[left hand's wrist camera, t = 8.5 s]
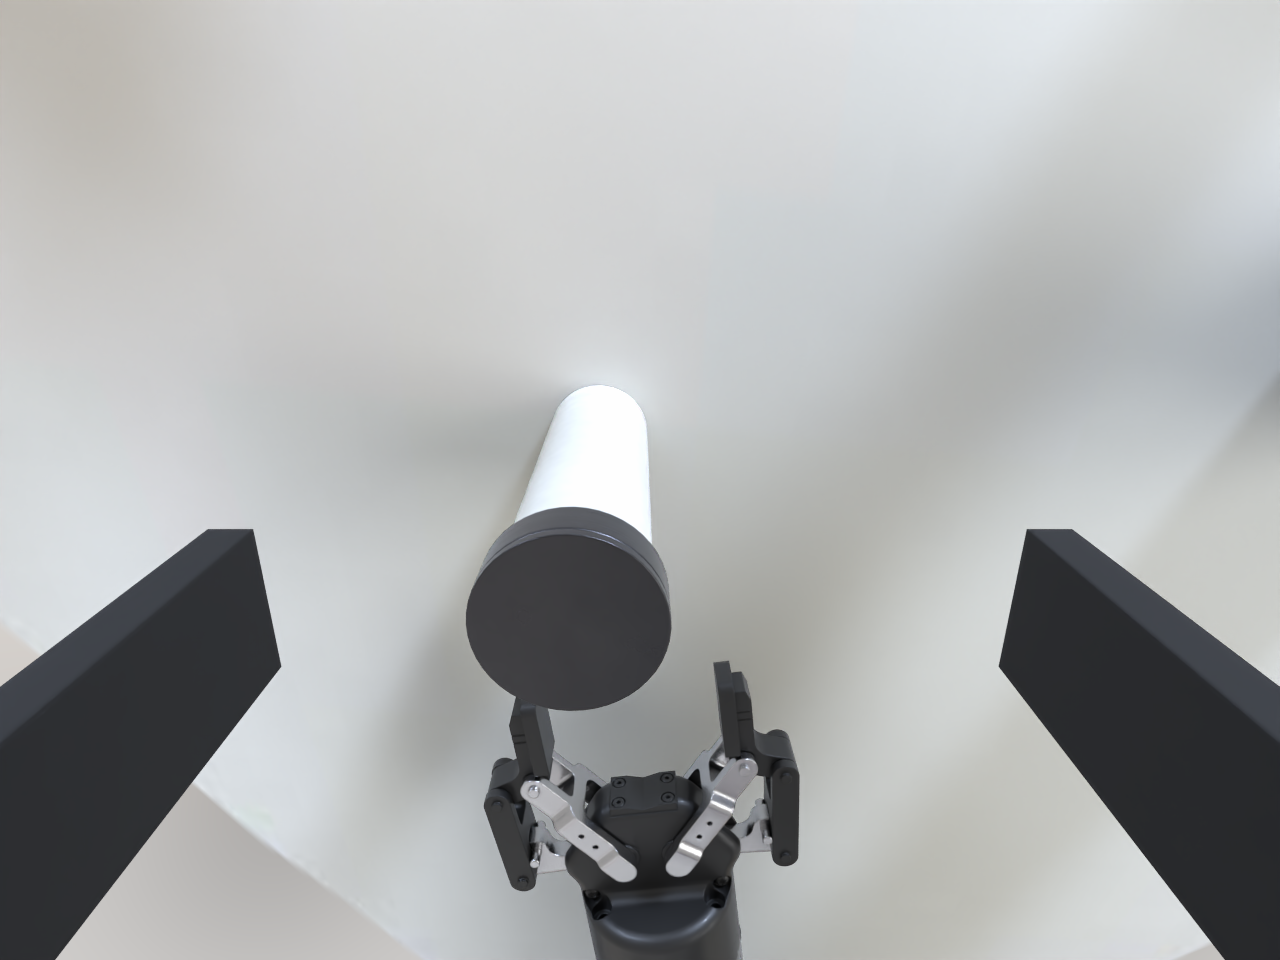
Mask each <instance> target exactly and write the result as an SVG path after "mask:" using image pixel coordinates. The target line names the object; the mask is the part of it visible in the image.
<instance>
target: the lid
mask: <svg viewBox="0 0 1280 960" xmlns="http://www.w3.org/2000/svg"><path fill="white" fill-rule="evenodd" d="M466 628H467V635H468V639H469V642H470V645H471V648H472V650H473V652H474V655H475V657H476V659H477V660H478V662H479V663H480V665H481V666H482V668H483V669H484V670H485V672H486V673H487V674H488V675H489V676H490V678H492V679H493V680H494V681H495V682H496V683H497V684H498V685H499V686H500V687H502V688H503V689H505V690H506V691H507V692H509V693H510V694H512V695H514V696H516V697H518V698H519V699H521V700H524V701H526V702H529V703H531V704H534V705H537V706H541V707H544V708H550V709H555V710H566V711H576V710H588V709H595V708H599V707H603V706H606V705H609V704H612V703H614V702H617V701H619V700H621V699H623V698H625V697H627V696H629V695H630V694H632V693H633V692H635V691H636V690H638V689H639V688H640V687H641V686H642V685H643V684H645V683H646V682H647V681H648V680H649V679H650V677H651V676H652V675H653V674H654V673H655V672H656V670H657V669H658V667H659V665H660V664H661V662H662V660H663V658H664V656H665V654H666V652H667V648H668V645H669V641H670V635H671V611H670V598H669V586H668V580H667V574H666V571H665V568H664V565H663V563H662V561H661V559H660V557H659V555H658V553H657V551H656V550H655V548H654V547H653V546H652V544H651V543H650V542H649V541H648V540H647V538H646V537H645V536H644V535H643V534H642V533H640V532H639V531H638V530H637V529H636V528H634V527H633V526H632V525H630V524H629V523H627V522H625V521H624V520H622V519H620V518H618V517H616V516H614V515H612V514H609V513H606V512H603V511H600V510H596V509H591V508H585V507H558V508H552V509H546V510H543V511H540V512H536V513H534V514H531V515H529V516H527V517H524V518H523V519H521V520H519V521H518V522H516V523H514V524H513V525H512V526H510V527H509V528H508V529H507V530H505V531H504V532H503V533H502V534H501V535H500V536H499V537H498V538H497V540H496V541H495V542H494V544H493V545H492V547H491V548H490V549H489V551H488V553H487V555H486V557H485V559H484V562H483V564H482V566H481V569H480V571H479V574H478V576H477V578H476V581H475V583H474V586H473V588H472V590H471V594H470V597H469V600H468V604H467V610H466Z"/></svg>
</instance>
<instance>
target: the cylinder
mask: <svg viewBox="0 0 1280 960" xmlns="http://www.w3.org/2000/svg"><path fill="white" fill-rule="evenodd" d="M558 507H585V508H591V509H596V510H600V511H603V512H606V513H609V514H612V515H614V516H616V517H618V518H620V519H622V520H624V521H625V522H627V523H629V524H630V525H632V526H633V527H634V528H636V529H637V530H638V531H639V532H640V533H642V534H643V535H644V536H645V537H646V538H647V540H648V541H649V542H650V543H651V544H652V531H651V509H650V486H649V464H648V442H647V425H646V420H645V417H644V414H643V412H642V410H641V409H640V407H639V406H638V404H637V403H636V402H635V401H634V400H633V399H632V398H631V397H630V396H629V395H627V394H626V393H624V392H623V391H621V390H619V389H616V388H613V387H609V386H602V385H594V386H588V387H584V388H581V389H579V390H577V391H575V392H573V393H571V394H570V395H569V396H567V397H566V398H565V399H564V400H563V401H562V402H561V404H560V405H559V407H558V408H557V410H556V412H555V415H554V417H553V420H552V423H551V425H550V428H549V431H548V433H547V436H546V439H545V441H544V444H543V447H542V449H541V452H540V455H539V457H538V460H537V463H536V465H535V468H534V471H533V473H532V476H531V479H530V481H529V484H528V487H527V489H526V492H525V495H524V497H523V500H522V503H521V505H520V508H519V511H518V513H517V516H516V519H515V521H514V523H516V522H518V521H519V520H521V519H523V518H524V517H527V516H529V515H531V514H534V513H536V512H540V511H543V510H546V509H552V508H558Z"/></svg>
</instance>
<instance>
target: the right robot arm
mask: <svg viewBox="0 0 1280 960" xmlns="http://www.w3.org/2000/svg"><path fill="white" fill-rule="evenodd" d="M713 664H714V673H715V682H716V691H717V700H718V710H719V719H720V727H721V733H722V735H721V736H720V737H719V739H718V740H717V741H716V743H715V744H714V745H713V747H712V748H711V749H710V750H709V751H706V750H704V751H703V752H702V753H701V754H700V755H699V756H698V758H697V759H696V760H695V762H694V763H693V764H692V766H691V767H690V768H689V770H688V771H687V772H686V774H685V775H684V776H683V777H680V776H676V775H675V771H668V772H659V773H656V774H653V775H650V776H647V777H633V776H620V777H611V783H609V784H607V783H606V782H604V781H603V780H602V779H600V778H599V777H598V776H597V775H595V774H594V773H593V772H591V771H590V770H589V769H588V768H586V767H585V766H584V765H582V764H580V763H578V764H576V765H572V764H571V763H569V762H568V761H567V760H566V759H564V758H563V757H562V756H560V755H559V754H558V753H556V752H555V751H554V750H553V749H554V742H555V741H554V736H553V731H552V726H551V722H550V717H549V712H548V708H544V707H541V706H537V705H534V704H531V703H529V702H526V701H524V700H521V699H519V698H518V697H516V699H515V703H514V708H513V712H512V716H511V720H510V724H509V727H510V731H511V735H512V740H513V743H514V748H515V752H516V756H517V759H515V760H512V759H510V758H501V759H498V760H497V761H496V762H495V763H494V766H493V770H492V778H491V782H490V786H489V790H488V793H487V795H486V798H485V802H484V809H485V812H486V815H487V817H488V820H489V823H490V826H491V829H492V832H493V835H494V837H495V840H496V843H497V846H498V849H499V852H500V855H501V857H502V860H503V863H504V866H505V869H506V872H507V875H508V877H509V880H510V883H511V885H512V887H513V888H515V889H516V890H519V891H528V890H531V889H532V888H533V887H534V886H535V883H536V877H537V874H542V873H549V872H556V871H563V870H567V871H568V872H569V874H570V875H571V876H572V877H573V878H574V879H575V880H576V881H577V882H578V883H579V885H580V886H581V890H582V895H583V900H584V904H585V909H586V914H587V918H588V923H589V927H590V932H591V937H592V941H593V945H594V950H595V955H596V959H597V960H743V957H742V948H741V930H740V926H739V921H738V912H737V903H736V894H735V885H734V876H733V866H734V864H735V862H736V861H737V859H738V857H739V855H740V853H745V852H763V851H771V853H772V858H773V861H774V862H775V863H776V864H777V865H780V866H789V865H792V864H793V863H795V862H796V861H797V859H798V837H799V772H798V768H797V765H796V761H795V758H794V754H793V751H792V747H791V743H790V740H789V736H788V734H787V733H786V732H784V731H782V730H772V731H770V732H768V733H767V734H762V733H759V732H757V731H755V730H754V728H753V717H752V706H751V698H750V694H749V689H748V685H747V680H746V679H745V677H744V675H743V674H742V672H733V673H731V670H730V665H729V661H723V662H714V663H713ZM756 775H759V776H764V799H761V798H759V799H757V800H756V801H755V805H756V806H755V807H753V808H752V810H751V812H750V816H749V818H748V819H747V820H746V821H744V822H742V823H736V821H735V819H734V818H733V816H732V814H733V812H734V808H735V803H736V800H737V798H738V797H739V796H740V794H741V793H742V792H743V791H744V789H745V788H746V787H747V786H748V785H749V783H750V782H751V781H752V780H753V778H754V777H755V776H756ZM585 801H586V802H587V803H588V806H587V807H586V809H584V805H585ZM530 803H531V804H532V805H533V806H535V807H536V808H537V809H539V810H540V811H542V812H543V813H544V814H546V815H547V816H548V817H550V818H551V820H552V822H553V825H554V828H555V830H556V831H557V832H558V834H560V835H561V836H562V837H564V838H565V839H566V840H567V841H560V840H557V839H555V838H553V837H552V835H551V834H550V832H549V831H548V830H547V829H545V826H546V824H545V822H543V821H538V822H536V820H535V817H534V814H533V811H532V808H531V805H530Z"/></svg>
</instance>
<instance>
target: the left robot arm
mask: <svg viewBox="0 0 1280 960" xmlns="http://www.w3.org/2000/svg"><path fill="white" fill-rule="evenodd" d="M280 668H281V663H280V658H279V653H278V648H277V643H276V639H275V634H274V629H273V624H272V619H271V614H270V609H269V604H268V600H267V595H266V590H265V585H264V580H263V575H262V570H261V565H260V561H259V556H258V551H257V546H256V541H255V536H254V531H253V529H208V530H206V531H205V532H204V533H202V534H201V535H200V536H198V537H197V538H196V539H194V540H193V541H192V542H190V543H189V544H188V545H187V546H185V547H184V548H183V549H181V550H180V551H179V552H177V553H176V554H175V555H173V556H172V557H171V558H169V559H168V560H167V561H165V562H164V563H163V564H161V565H160V566H159V567H158V568H156V569H155V570H154V571H152V572H151V573H150V574H148V575H147V576H146V577H144V578H143V579H142V580H140V581H139V582H138V583H136V584H135V585H134V586H132V587H131V588H130V589H129V590H127V591H126V592H125V593H123V594H122V595H121V596H119V597H118V598H117V599H115V600H114V601H113V602H111V603H110V604H109V605H107V606H106V607H105V608H103V609H102V610H101V611H100V612H98V613H97V614H96V615H94V616H93V617H92V618H90V619H89V620H88V621H86V622H85V623H84V624H82V625H81V626H80V627H78V628H77V629H76V630H74V631H73V632H72V633H71V634H69V635H68V636H67V637H65V638H64V639H63V640H61V641H60V642H59V643H57V644H56V645H55V646H53V647H52V648H51V649H49V650H48V651H47V652H45V653H44V654H43V655H42V656H40V657H39V658H38V659H36V660H35V661H34V662H32V663H31V664H30V665H28V666H27V667H26V668H24V669H23V670H22V671H20V672H19V673H18V674H17V675H15V676H14V677H13V678H11V679H10V680H9V681H7V682H6V683H5V684H3V685H2V686H1V687H0V960H55V959H56V958H57V957H58V955H59V954H60V953H61V951H62V950H63V949H64V948H65V946H66V945H67V944H68V942H69V941H70V940H71V939H72V937H73V936H74V935H75V933H76V932H77V931H78V929H79V928H80V927H81V926H82V924H83V923H84V922H85V920H86V919H87V918H88V916H89V915H90V914H91V913H92V911H93V910H94V909H95V907H96V906H97V905H98V903H99V902H100V901H101V900H102V898H103V897H104V896H105V894H106V893H107V892H108V891H109V889H110V888H111V887H112V885H113V884H114V883H115V881H116V880H117V879H118V878H119V876H120V875H121V874H122V872H123V871H124V870H125V869H126V867H127V866H128V865H129V863H130V862H131V861H132V859H133V858H134V857H135V856H136V854H137V853H138V852H139V850H140V849H141V848H142V846H143V845H144V844H145V843H146V841H147V840H148V839H149V837H150V836H151V835H152V834H153V832H154V831H155V830H156V828H157V827H158V826H159V824H160V823H161V822H162V820H163V819H164V818H165V817H166V815H167V814H168V813H169V811H170V810H171V809H172V808H173V806H174V805H175V804H176V802H177V801H178V800H179V799H180V797H181V796H182V795H183V793H184V792H185V791H186V789H187V788H188V787H189V785H190V784H191V783H192V782H193V780H194V779H195V778H196V776H197V775H198V774H199V773H200V771H201V770H202V769H203V767H204V766H205V765H206V764H207V762H208V761H209V760H210V758H211V757H212V756H213V754H214V753H215V752H216V751H217V749H218V748H219V747H220V745H221V744H222V743H223V741H224V740H225V739H226V738H227V736H228V735H229V734H230V732H231V731H232V730H233V729H234V727H235V726H236V725H237V723H238V722H239V721H240V719H241V718H242V717H243V716H244V714H245V713H246V712H247V710H248V709H249V708H250V706H251V705H252V704H253V703H254V701H255V700H256V699H257V697H258V696H259V695H260V693H261V692H262V691H263V690H264V688H265V687H266V686H267V684H268V683H269V682H270V681H271V679H272V678H273V677H274V675H275V674H276V673H277V671H278V670H279V669H280ZM999 668H1000V669H1001V670H1002V671H1003V673H1004V674H1005V675H1006V677H1007V678H1008V679H1009V681H1010V682H1011V683H1012V684H1013V686H1014V687H1015V688H1016V690H1017V691H1018V692H1019V694H1020V695H1021V696H1022V697H1023V699H1024V700H1025V701H1026V703H1027V704H1028V705H1029V706H1030V708H1031V709H1032V710H1033V712H1034V713H1035V714H1036V716H1037V717H1038V718H1039V719H1040V721H1041V722H1042V723H1043V725H1044V726H1045V727H1046V729H1047V730H1048V731H1049V732H1050V734H1051V735H1052V736H1053V738H1054V739H1055V740H1056V741H1057V743H1058V744H1059V745H1060V747H1061V748H1062V749H1063V751H1064V752H1065V753H1066V754H1067V756H1068V757H1069V758H1070V760H1071V761H1072V762H1073V764H1074V765H1075V766H1076V767H1077V769H1078V770H1079V771H1080V773H1081V774H1082V775H1083V776H1084V778H1085V779H1086V780H1087V782H1088V783H1089V784H1090V786H1091V787H1092V788H1093V789H1094V791H1095V792H1096V793H1097V795H1098V796H1099V797H1100V799H1101V800H1102V801H1103V802H1104V804H1105V805H1106V806H1107V808H1108V809H1109V810H1110V811H1111V813H1112V814H1113V815H1114V817H1115V818H1116V819H1117V821H1118V822H1119V823H1120V824H1121V826H1122V827H1123V828H1124V830H1125V831H1126V832H1127V834H1128V835H1129V836H1130V837H1131V839H1132V840H1133V841H1134V843H1135V844H1136V845H1137V846H1138V848H1139V849H1140V850H1141V852H1142V853H1143V854H1144V856H1145V857H1146V858H1147V859H1148V861H1149V862H1150V863H1151V865H1152V866H1153V867H1154V869H1155V870H1156V871H1157V872H1158V874H1159V875H1160V876H1161V878H1162V879H1163V880H1164V881H1165V883H1166V884H1167V885H1168V887H1169V888H1170V889H1171V891H1172V892H1173V893H1174V894H1175V896H1176V897H1177V898H1178V900H1179V901H1180V902H1181V904H1182V905H1183V906H1184V907H1185V909H1186V910H1187V911H1188V913H1189V914H1190V915H1191V916H1192V918H1193V919H1194V920H1195V922H1196V923H1197V924H1198V926H1199V927H1200V928H1201V929H1202V931H1203V932H1204V933H1205V935H1206V936H1207V937H1208V939H1209V940H1210V941H1211V942H1212V944H1213V945H1214V946H1215V948H1216V949H1217V950H1218V951H1219V953H1220V954H1221V955H1222V957H1223V958H1224V959H1225V960H1280V686H1278V685H1277V684H1275V683H1274V682H1273V681H1271V680H1270V679H1269V678H1267V677H1266V676H1265V675H1264V674H1262V673H1261V672H1260V671H1258V670H1257V669H1256V668H1254V667H1253V666H1252V665H1250V664H1249V663H1248V662H1246V661H1245V660H1244V659H1242V658H1241V657H1240V656H1238V655H1237V654H1236V653H1235V652H1233V651H1232V650H1231V649H1229V648H1228V647H1227V646H1225V645H1224V644H1223V643H1221V642H1220V641H1219V640H1217V639H1216V638H1215V637H1213V636H1212V635H1211V634H1209V633H1208V632H1207V631H1206V630H1204V629H1203V628H1202V627H1200V626H1199V625H1198V624H1196V623H1195V622H1194V621H1192V620H1191V619H1190V618H1188V617H1187V616H1186V615H1184V614H1183V613H1182V612H1180V611H1179V610H1178V609H1177V608H1175V607H1174V606H1173V605H1171V604H1170V603H1169V602H1167V601H1166V600H1165V599H1163V598H1162V597H1161V596H1159V595H1158V594H1157V593H1155V592H1154V591H1153V590H1151V589H1150V588H1149V587H1148V586H1146V585H1145V584H1144V583H1142V582H1141V581H1140V580H1138V579H1137V578H1136V577H1134V576H1133V575H1132V574H1130V573H1129V572H1128V571H1126V570H1125V569H1124V568H1122V567H1121V566H1120V565H1119V564H1117V563H1116V562H1115V561H1113V560H1112V559H1111V558H1109V557H1108V556H1107V555H1105V554H1104V553H1103V552H1101V551H1100V550H1099V549H1097V548H1096V547H1095V546H1093V545H1092V544H1091V543H1090V542H1088V541H1087V540H1086V539H1084V538H1083V537H1082V536H1080V535H1079V534H1078V533H1076V532H1075V531H1074V530H1072V529H1027V531H1026V536H1025V541H1024V546H1023V551H1022V556H1021V561H1020V565H1019V570H1018V575H1017V580H1016V585H1015V590H1014V595H1013V600H1012V604H1011V609H1010V614H1009V619H1008V624H1007V629H1006V634H1005V639H1004V643H1003V648H1002V653H1001V658H1000V663H999Z"/></svg>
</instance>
